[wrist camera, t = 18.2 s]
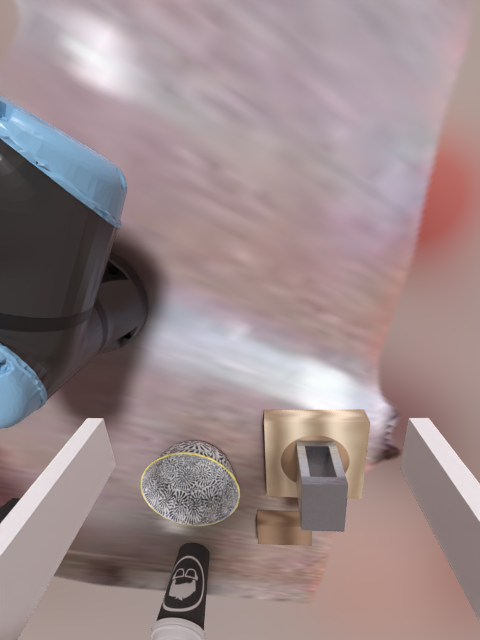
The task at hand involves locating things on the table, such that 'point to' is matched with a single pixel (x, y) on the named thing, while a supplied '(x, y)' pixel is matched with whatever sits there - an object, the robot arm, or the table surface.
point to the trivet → (314, 425)
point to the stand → (281, 528)
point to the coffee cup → (184, 597)
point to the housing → (320, 486)
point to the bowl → (191, 485)
